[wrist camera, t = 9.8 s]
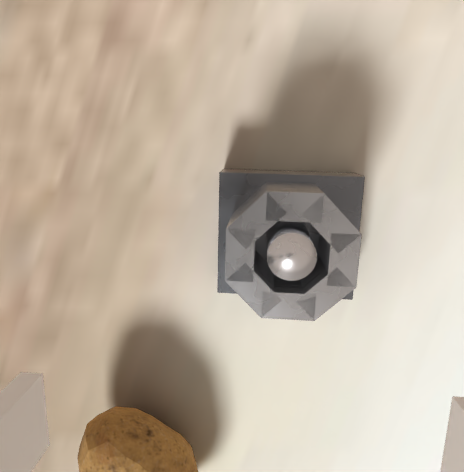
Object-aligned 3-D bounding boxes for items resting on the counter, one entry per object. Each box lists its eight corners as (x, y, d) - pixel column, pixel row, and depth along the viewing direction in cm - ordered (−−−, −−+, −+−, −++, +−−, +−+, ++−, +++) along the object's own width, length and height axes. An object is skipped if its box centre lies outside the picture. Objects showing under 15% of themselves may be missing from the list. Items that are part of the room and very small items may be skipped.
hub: (230, 287, 31) (224, 315, 26) (233, 180, 29) (226, 190, 24) (338, 293, 31) (352, 322, 26) (348, 184, 29) (365, 194, 24)
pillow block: (221, 278, 34) (208, 321, 27) (223, 168, 32) (210, 179, 24) (344, 285, 34) (368, 330, 26) (355, 172, 31) (385, 185, 24)
